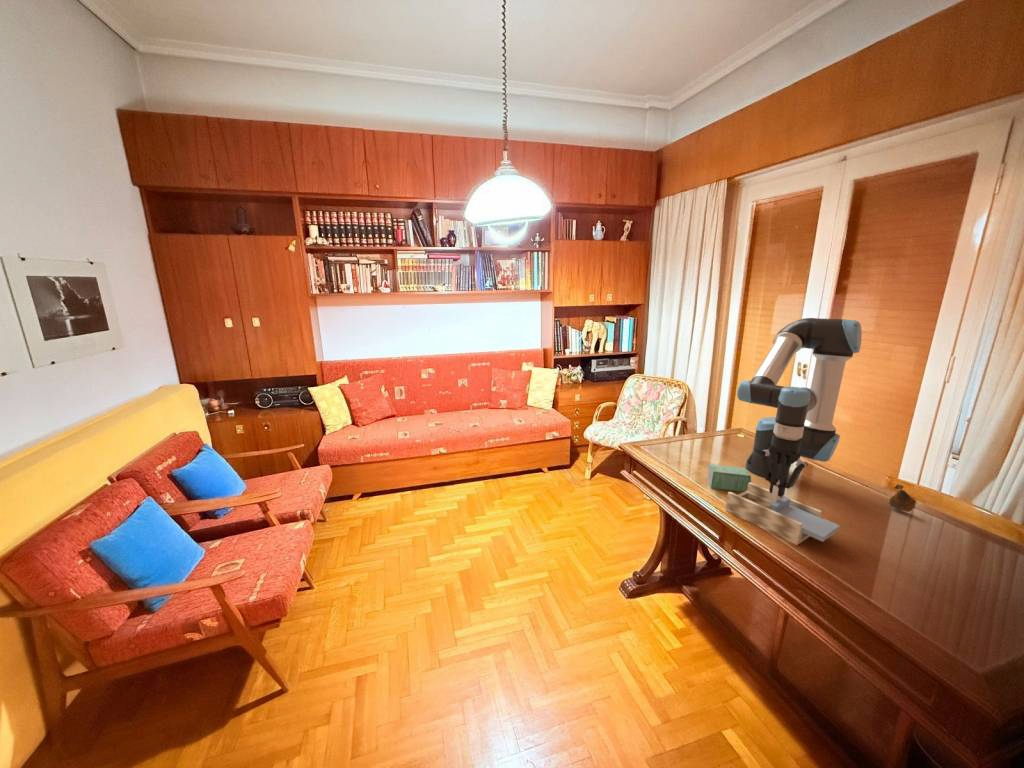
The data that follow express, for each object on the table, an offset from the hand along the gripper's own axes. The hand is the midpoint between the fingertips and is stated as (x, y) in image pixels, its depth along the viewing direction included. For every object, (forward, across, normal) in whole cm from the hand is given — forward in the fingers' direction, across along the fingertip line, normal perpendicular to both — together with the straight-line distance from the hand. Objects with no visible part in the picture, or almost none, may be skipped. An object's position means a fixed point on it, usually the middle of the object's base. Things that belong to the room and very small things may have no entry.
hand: (774, 503), depth 126 cm
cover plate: (+3, +8, 0) cm, 9 cm away
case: (+7, -1, 0) cm, 7 cm away
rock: (+7, +19, +45) cm, 49 cm away
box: (+7, -21, +10) cm, 25 cm away
